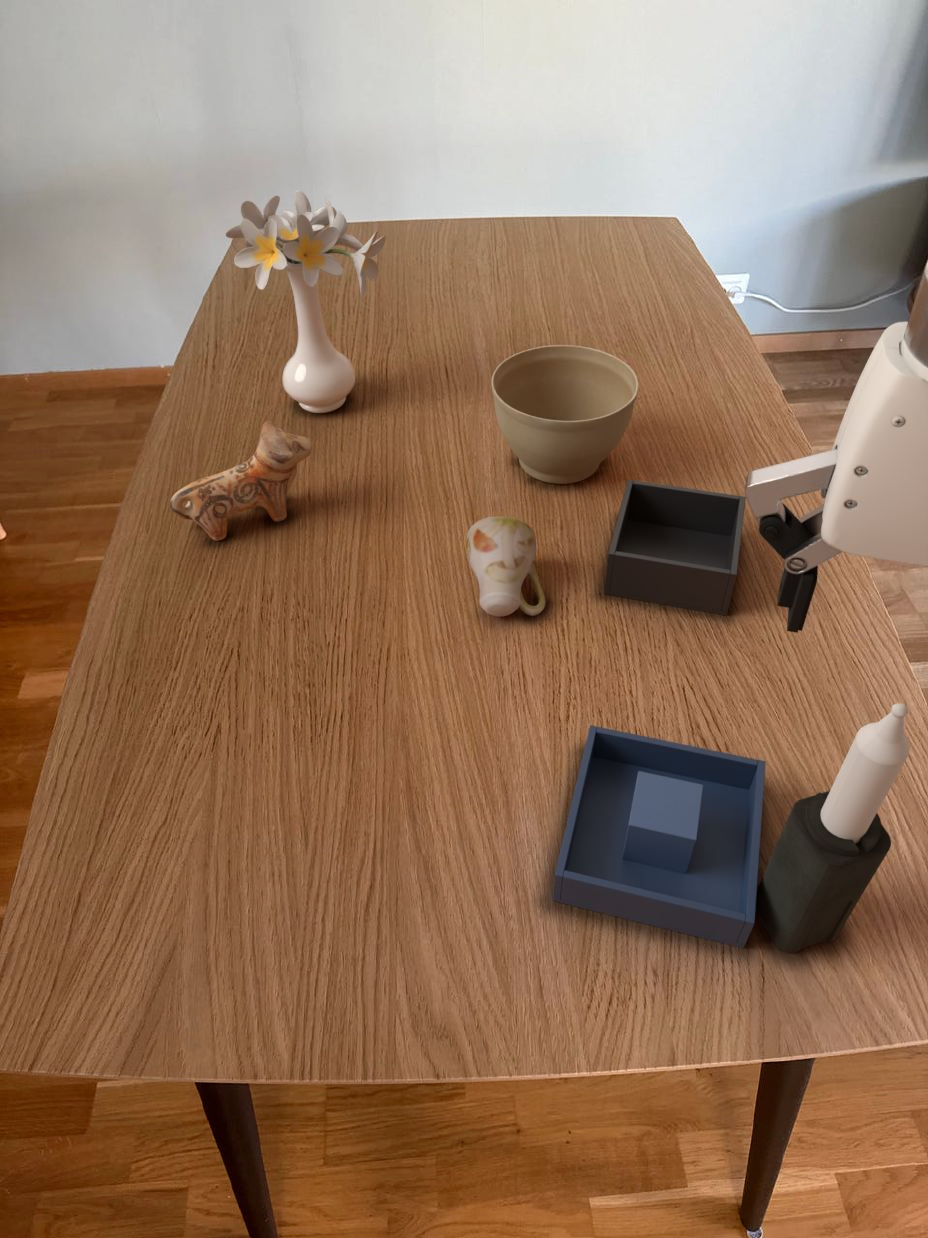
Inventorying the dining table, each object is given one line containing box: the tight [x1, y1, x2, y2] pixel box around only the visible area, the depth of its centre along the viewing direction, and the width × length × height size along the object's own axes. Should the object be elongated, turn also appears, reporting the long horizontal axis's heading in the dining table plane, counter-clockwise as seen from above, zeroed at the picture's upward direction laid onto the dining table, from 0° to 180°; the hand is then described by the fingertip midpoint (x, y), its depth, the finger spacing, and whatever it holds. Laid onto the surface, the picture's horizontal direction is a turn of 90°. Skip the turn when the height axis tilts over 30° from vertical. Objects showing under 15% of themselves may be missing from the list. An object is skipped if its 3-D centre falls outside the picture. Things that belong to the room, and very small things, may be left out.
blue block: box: [622, 771, 703, 874], centre depth 71 cm, size 5×5×5 cm
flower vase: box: [225, 189, 387, 414], centre depth 110 cm, size 13×18×25 cm
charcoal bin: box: [603, 479, 747, 616], centre depth 93 cm, size 12×12×6 cm
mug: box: [465, 515, 546, 618], centre depth 92 cm, size 8×10×10 cm
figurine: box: [169, 419, 313, 542], centre depth 99 cm, size 7×16×10 cm, turn 117°
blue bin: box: [552, 724, 766, 949], centre depth 71 cm, size 14×14×4 cm
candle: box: [755, 702, 910, 955], centre depth 59 cm, size 5×5×25 cm
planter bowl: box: [490, 344, 640, 485], centre depth 104 cm, size 16×16×11 cm
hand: (890, 629), depth 48 cm, fingers open, 9 cm apart
